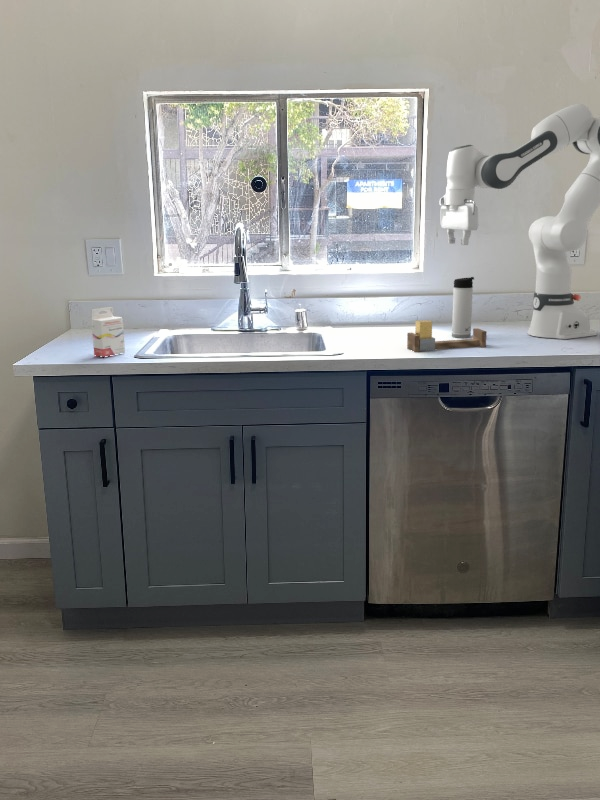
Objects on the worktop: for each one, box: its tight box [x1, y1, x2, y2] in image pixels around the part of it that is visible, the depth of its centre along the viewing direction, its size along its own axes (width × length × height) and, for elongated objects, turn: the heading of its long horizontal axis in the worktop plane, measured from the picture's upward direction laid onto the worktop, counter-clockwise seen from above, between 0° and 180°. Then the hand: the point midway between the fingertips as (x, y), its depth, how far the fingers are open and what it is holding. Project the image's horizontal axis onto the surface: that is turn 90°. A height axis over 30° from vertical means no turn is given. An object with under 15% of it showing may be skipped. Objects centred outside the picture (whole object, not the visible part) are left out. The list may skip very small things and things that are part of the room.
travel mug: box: [451, 276, 475, 339], centre depth 246 cm, size 6×7×20 cm
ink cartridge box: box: [90, 306, 126, 357], centre depth 228 cm, size 9×5×15 cm, turn 141°
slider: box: [414, 319, 436, 352], centre depth 228 cm, size 5×6×9 cm
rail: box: [406, 327, 488, 353], centre depth 230 cm, size 24×6×5 cm, turn 104°
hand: (458, 244), depth 234 cm, fingers open, 8 cm apart
